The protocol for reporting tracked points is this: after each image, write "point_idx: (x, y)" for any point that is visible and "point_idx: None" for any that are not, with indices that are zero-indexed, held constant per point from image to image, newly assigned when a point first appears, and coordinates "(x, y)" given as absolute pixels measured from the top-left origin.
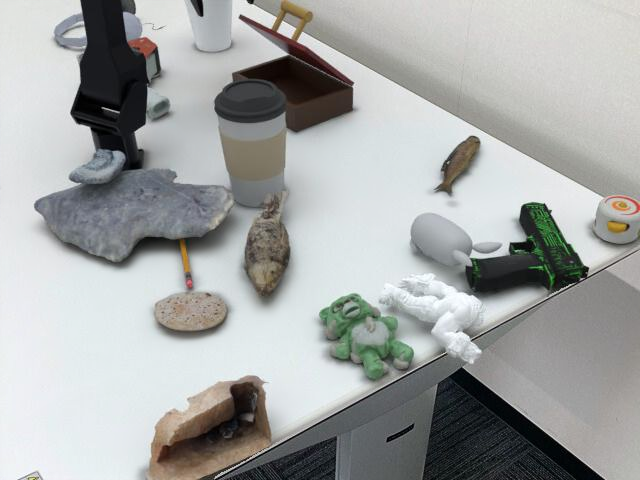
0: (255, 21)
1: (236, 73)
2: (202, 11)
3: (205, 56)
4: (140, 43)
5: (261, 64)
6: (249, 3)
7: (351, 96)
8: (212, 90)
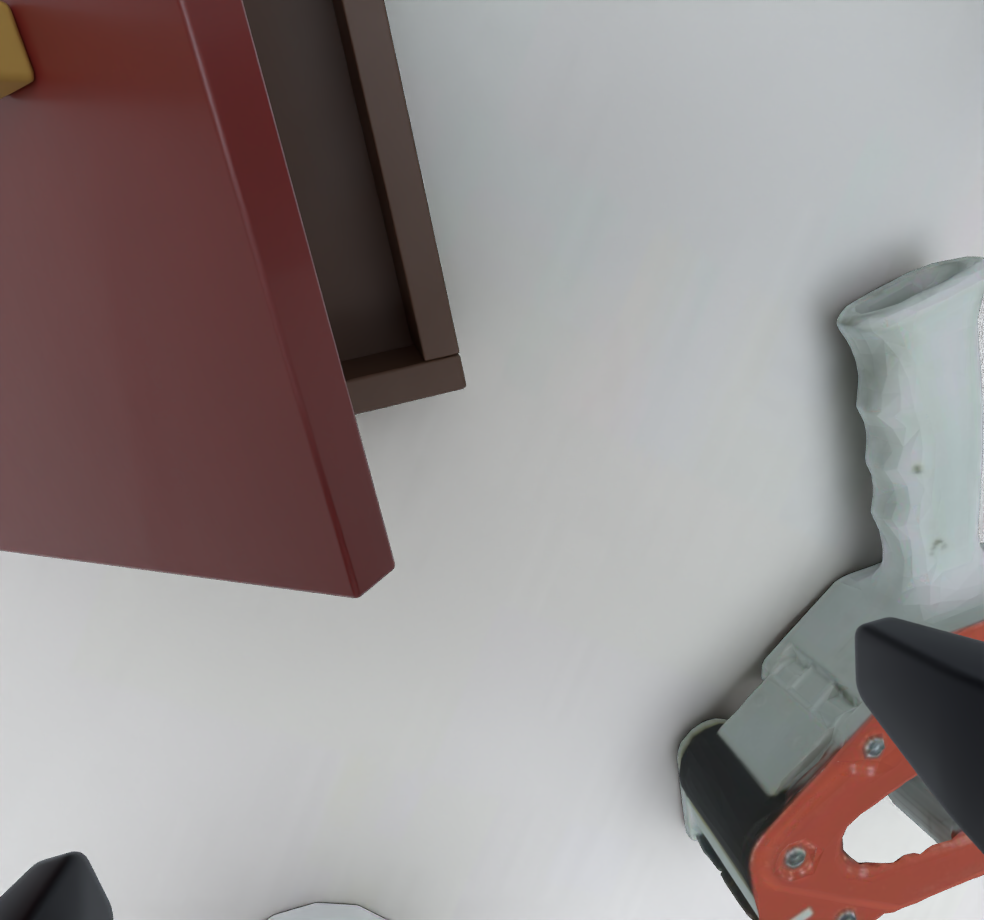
0: (233, 201)
1: (441, 360)
2: (927, 642)
3: (405, 865)
4: (825, 884)
5: None
6: (96, 882)
7: None
8: (528, 477)
